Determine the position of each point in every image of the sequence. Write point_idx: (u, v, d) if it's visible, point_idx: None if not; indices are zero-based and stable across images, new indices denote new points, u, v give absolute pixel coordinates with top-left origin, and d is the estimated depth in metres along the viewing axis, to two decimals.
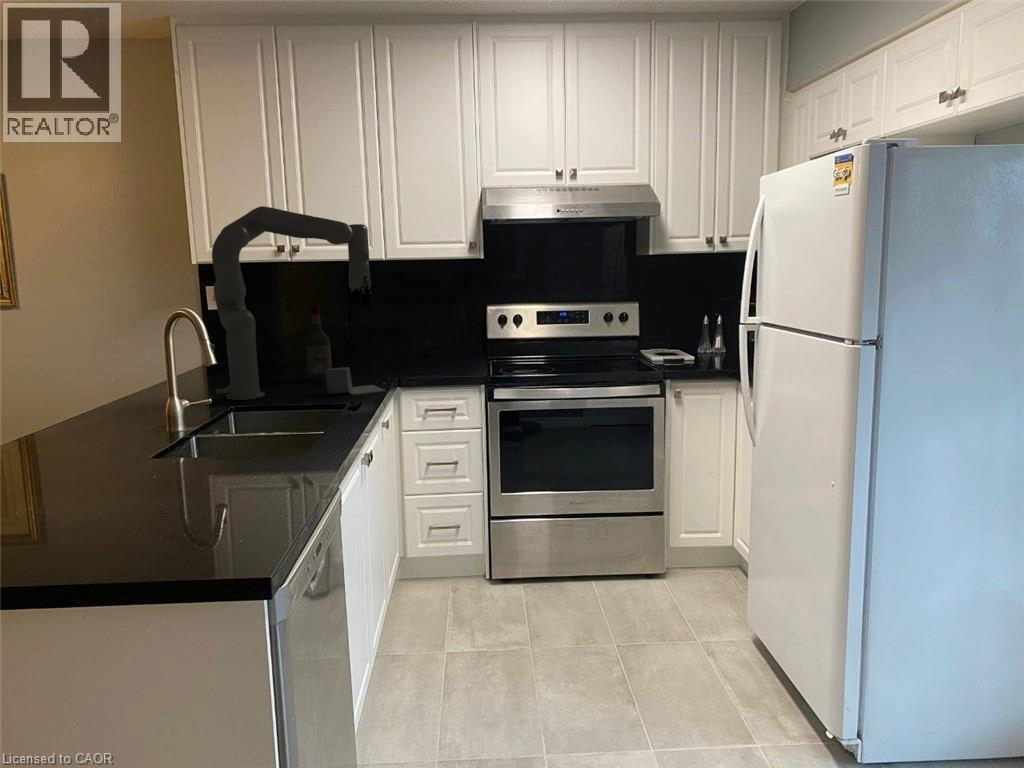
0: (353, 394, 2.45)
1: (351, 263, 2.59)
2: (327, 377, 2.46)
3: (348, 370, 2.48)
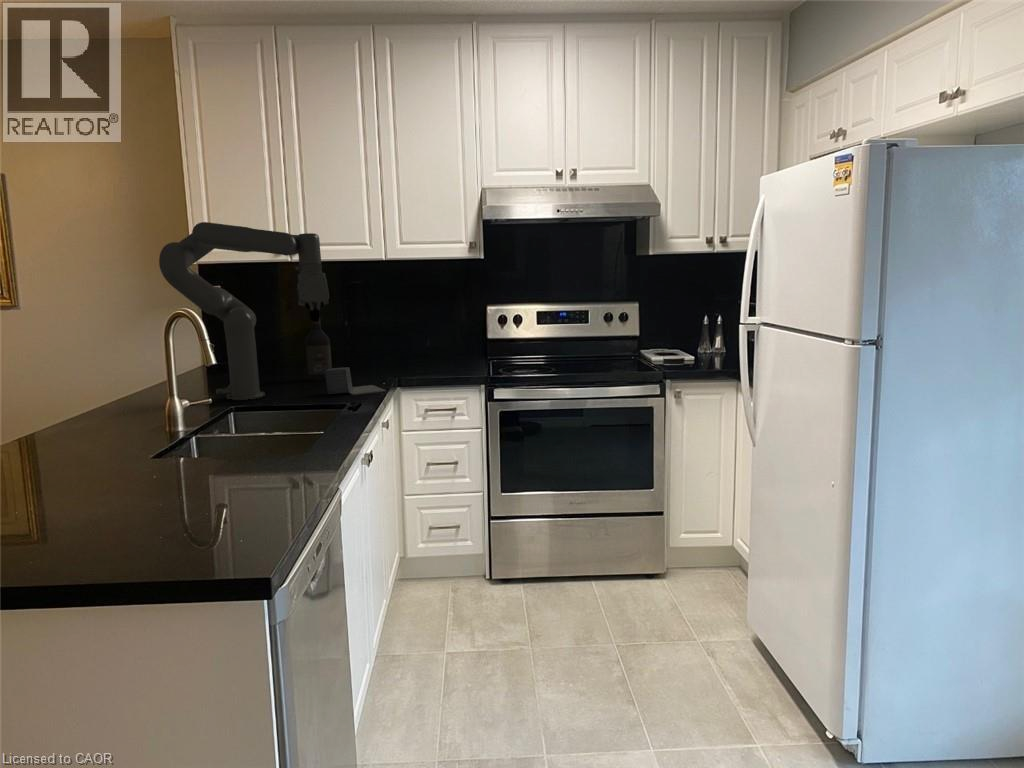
0: (353, 394, 2.45)
1: (310, 274, 2.41)
2: (327, 377, 2.46)
3: (348, 370, 2.48)
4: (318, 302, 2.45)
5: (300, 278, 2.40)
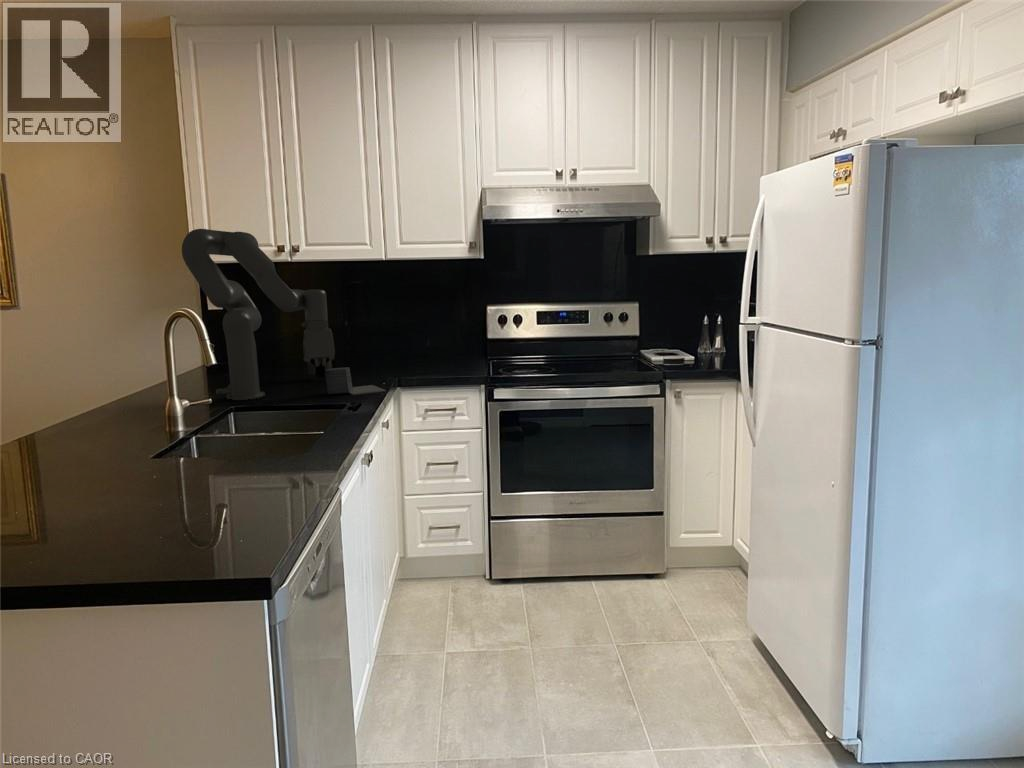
0: (353, 394, 2.45)
1: (316, 331, 2.39)
2: (327, 377, 2.46)
3: (348, 370, 2.48)
4: (324, 358, 2.43)
5: (306, 335, 2.38)
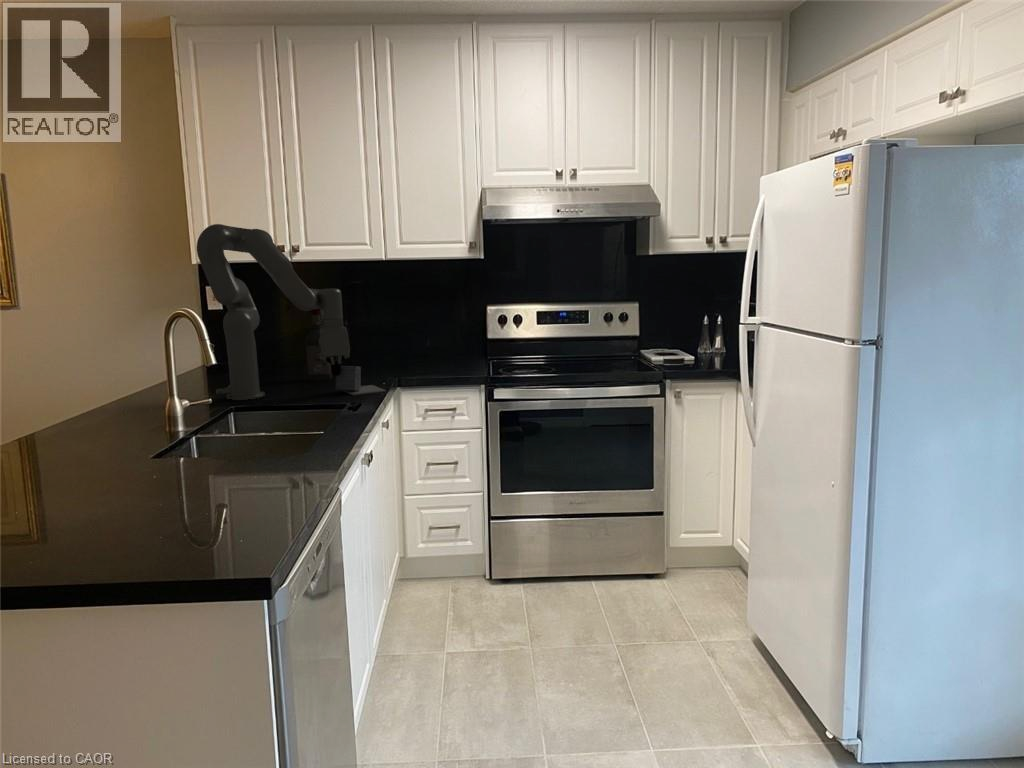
0: (353, 394, 2.45)
1: (332, 329, 2.42)
2: None
3: (358, 368, 2.50)
4: (339, 356, 2.46)
5: (322, 333, 2.41)
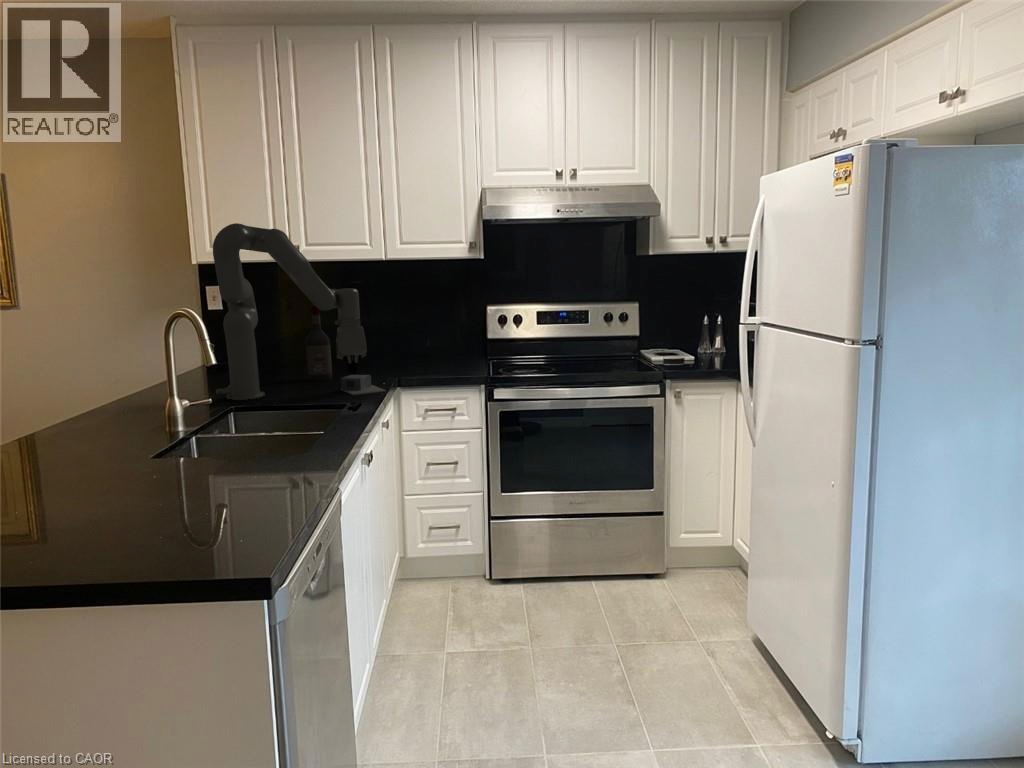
0: (353, 394, 2.45)
1: (349, 329, 2.45)
2: (350, 375, 2.59)
3: (370, 382, 2.59)
4: (356, 355, 2.49)
5: (339, 332, 2.44)
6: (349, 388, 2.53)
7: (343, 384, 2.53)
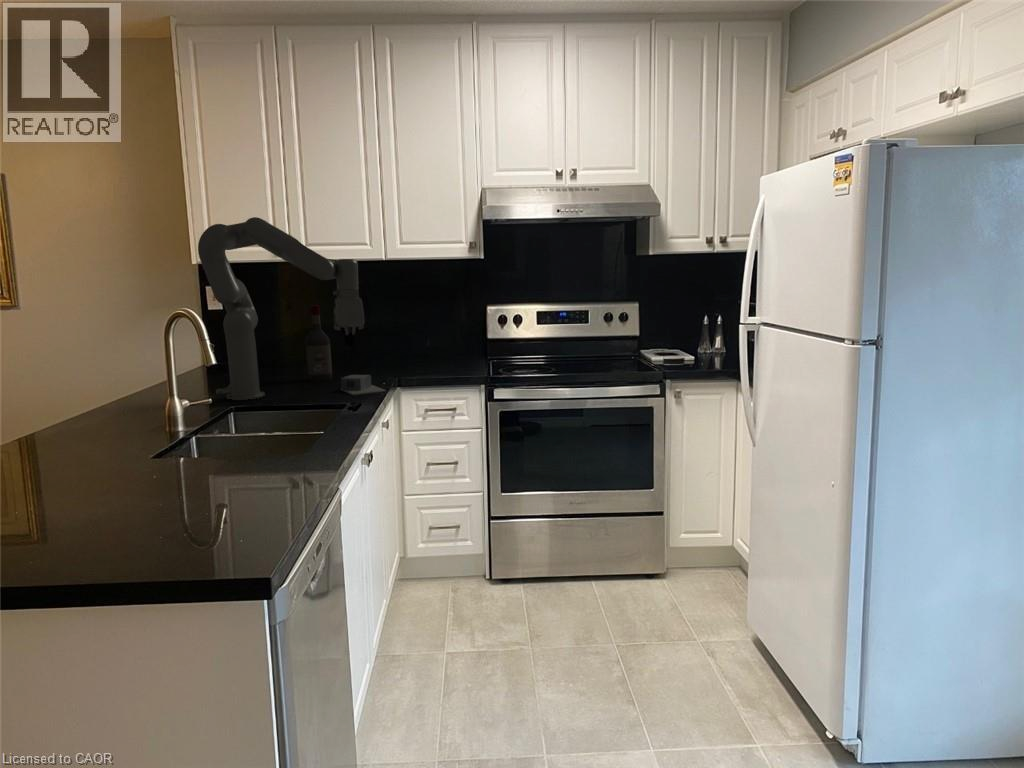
0: (353, 394, 2.45)
1: (347, 300, 2.44)
2: (350, 375, 2.59)
3: (370, 382, 2.59)
4: (353, 327, 2.47)
5: (337, 303, 2.43)
6: (349, 388, 2.53)
7: (343, 384, 2.53)
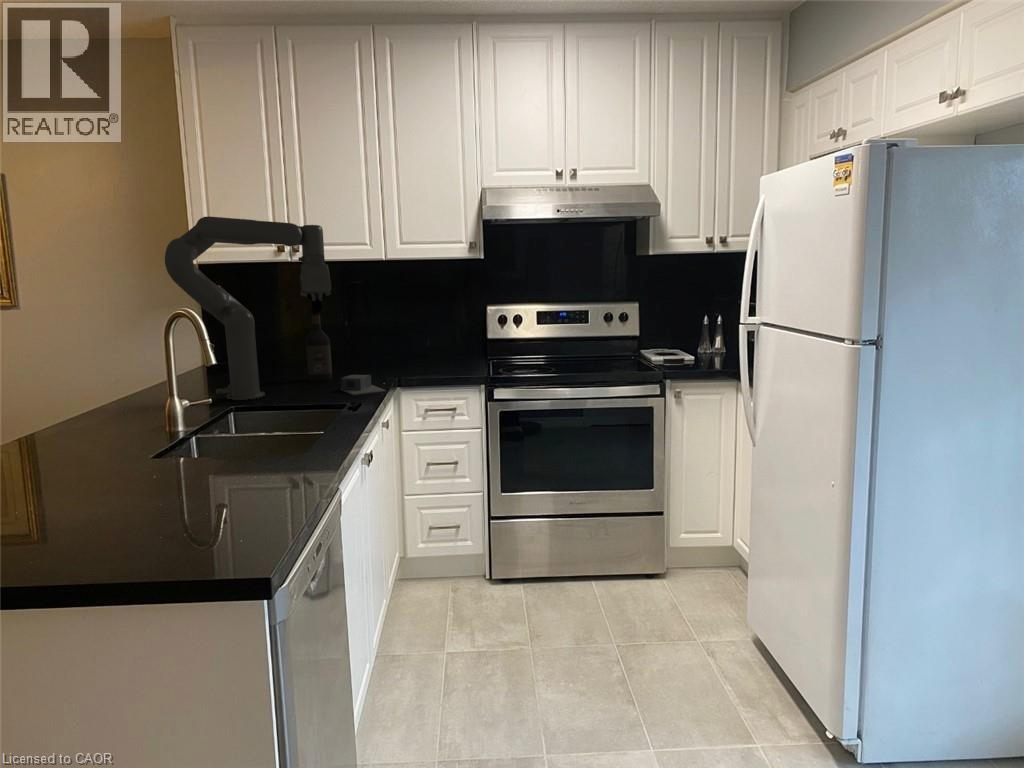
0: (353, 394, 2.45)
1: (313, 265, 2.44)
2: (350, 375, 2.59)
3: (370, 382, 2.59)
4: (320, 293, 2.48)
5: (303, 269, 2.44)
6: (349, 388, 2.53)
7: (343, 384, 2.53)
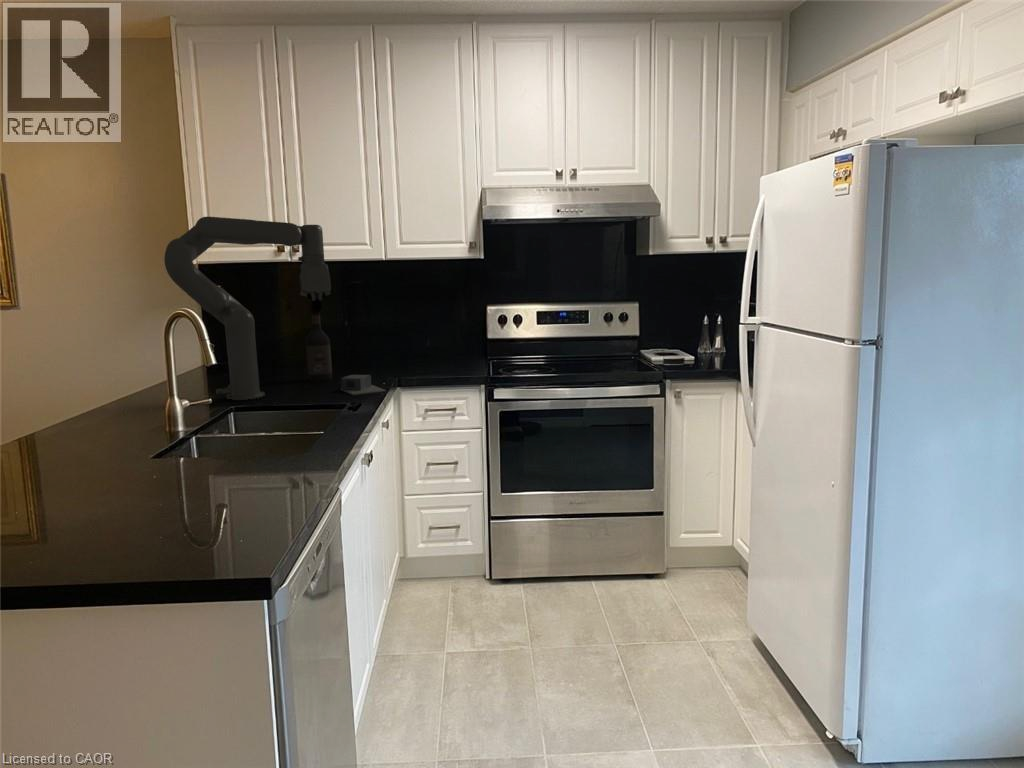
0: (353, 394, 2.45)
1: (312, 265, 2.44)
2: (350, 375, 2.59)
3: (370, 382, 2.59)
4: (320, 293, 2.48)
5: (302, 269, 2.44)
6: (349, 388, 2.53)
7: (343, 384, 2.53)
